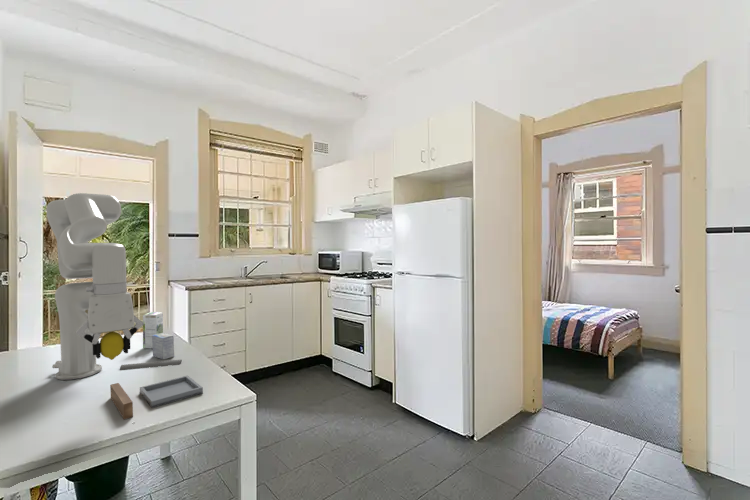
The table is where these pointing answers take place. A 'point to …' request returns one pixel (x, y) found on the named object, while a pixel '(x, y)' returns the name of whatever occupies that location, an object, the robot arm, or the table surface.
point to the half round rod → (150, 364)
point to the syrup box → (151, 327)
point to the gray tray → (170, 391)
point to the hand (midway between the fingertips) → (112, 354)
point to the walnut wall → (121, 401)
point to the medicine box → (163, 346)
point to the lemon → (111, 345)
